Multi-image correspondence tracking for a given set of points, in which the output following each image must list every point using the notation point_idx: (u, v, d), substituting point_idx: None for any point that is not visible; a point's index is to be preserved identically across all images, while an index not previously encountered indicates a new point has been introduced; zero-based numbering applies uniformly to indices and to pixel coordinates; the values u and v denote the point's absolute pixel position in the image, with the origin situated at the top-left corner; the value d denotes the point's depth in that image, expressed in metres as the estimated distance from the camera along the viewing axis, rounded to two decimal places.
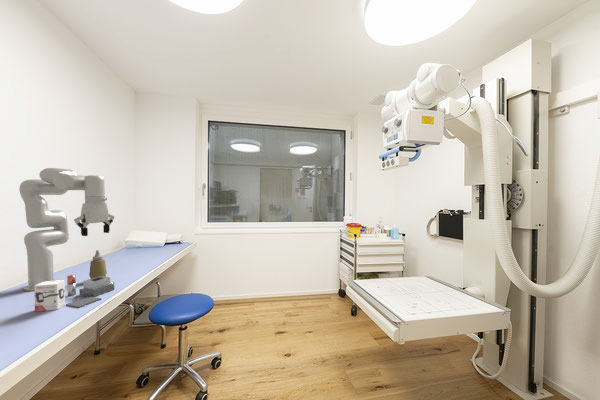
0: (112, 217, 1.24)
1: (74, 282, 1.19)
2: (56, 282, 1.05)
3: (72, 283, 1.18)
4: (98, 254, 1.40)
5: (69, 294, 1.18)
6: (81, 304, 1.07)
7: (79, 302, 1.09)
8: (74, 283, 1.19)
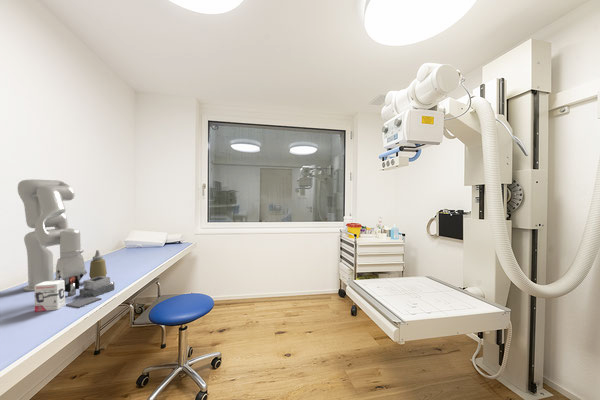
0: (84, 272, 1.24)
1: (74, 282, 1.19)
2: (56, 282, 1.05)
3: (72, 283, 1.18)
4: (98, 254, 1.40)
5: (69, 294, 1.18)
6: (81, 304, 1.07)
7: (79, 302, 1.09)
8: (74, 283, 1.19)
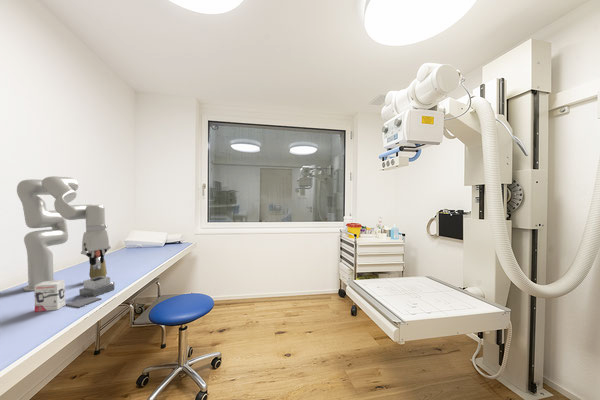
0: (108, 247, 1.27)
1: (99, 256, 1.22)
2: (56, 282, 1.05)
3: (97, 256, 1.21)
4: None
5: (95, 267, 1.20)
6: (81, 304, 1.07)
7: (79, 302, 1.09)
8: (99, 257, 1.22)
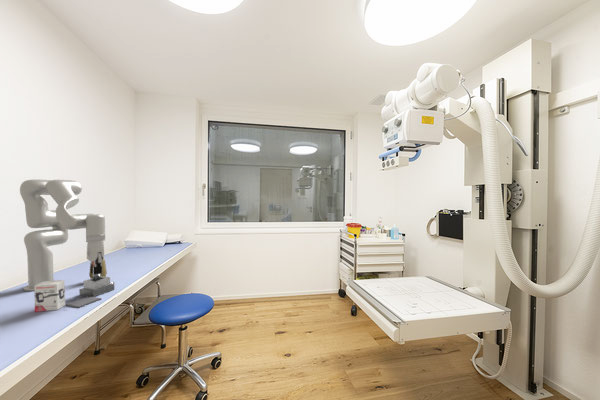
0: None
1: None
2: (56, 282, 1.05)
3: None
4: None
5: (99, 276, 1.22)
6: (81, 304, 1.07)
7: (79, 302, 1.09)
8: None
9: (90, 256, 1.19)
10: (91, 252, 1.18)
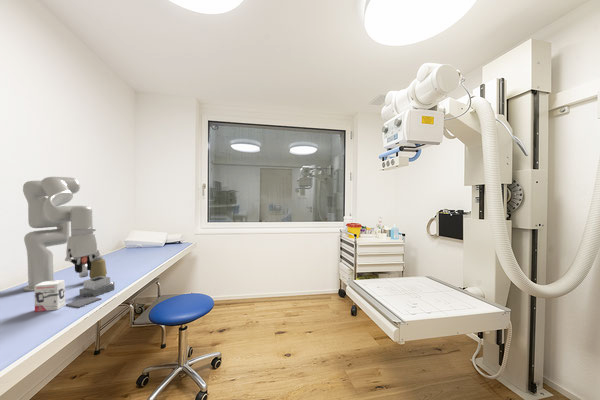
0: (96, 253, 1.15)
1: (86, 262, 1.10)
2: (56, 282, 1.05)
3: (84, 263, 1.09)
4: (98, 254, 1.40)
5: (81, 275, 1.09)
6: (81, 304, 1.07)
7: (79, 302, 1.09)
8: (86, 263, 1.10)
9: None
10: None
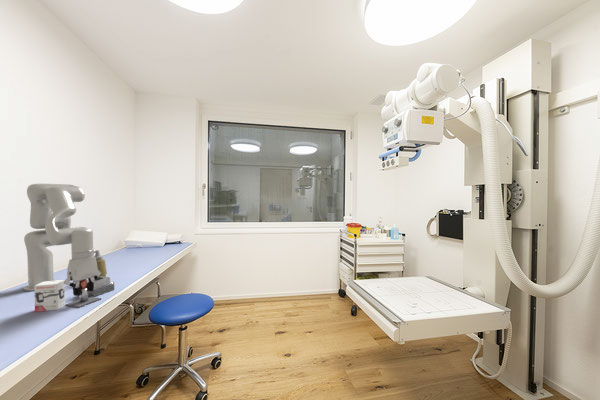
0: (98, 273, 1.16)
1: (86, 287, 1.11)
2: (56, 282, 1.05)
3: (84, 288, 1.10)
4: (98, 254, 1.40)
5: (81, 300, 1.09)
6: (81, 304, 1.07)
7: (79, 302, 1.09)
8: (86, 288, 1.10)
9: None
10: None
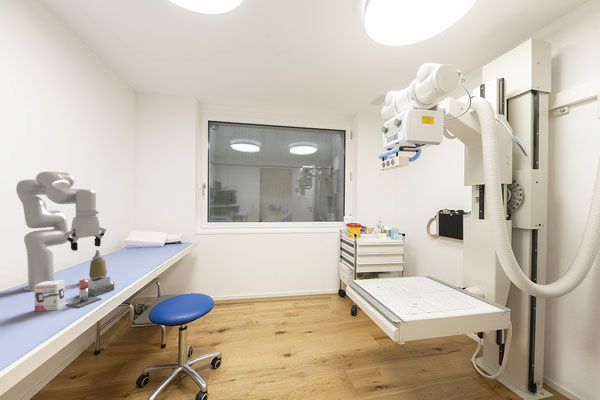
0: (103, 230, 1.24)
1: (86, 287, 1.11)
2: (56, 282, 1.05)
3: (84, 288, 1.10)
4: (98, 254, 1.40)
5: (81, 300, 1.09)
6: (81, 304, 1.07)
7: (79, 302, 1.09)
8: (86, 288, 1.10)
9: None
10: None
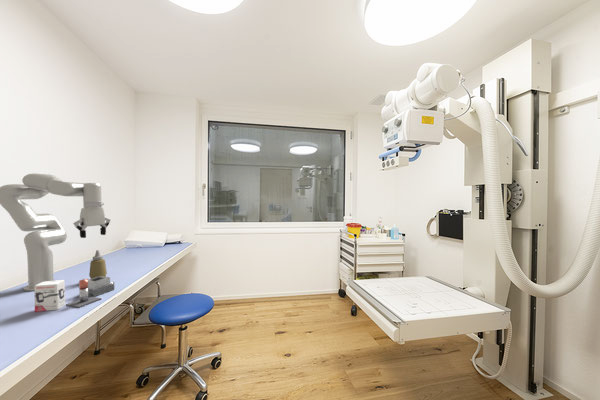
0: (108, 220, 1.36)
1: (86, 287, 1.11)
2: (56, 282, 1.05)
3: (84, 288, 1.10)
4: (98, 254, 1.40)
5: (81, 300, 1.09)
6: (81, 304, 1.07)
7: (79, 302, 1.09)
8: (86, 288, 1.10)
9: None
10: None
